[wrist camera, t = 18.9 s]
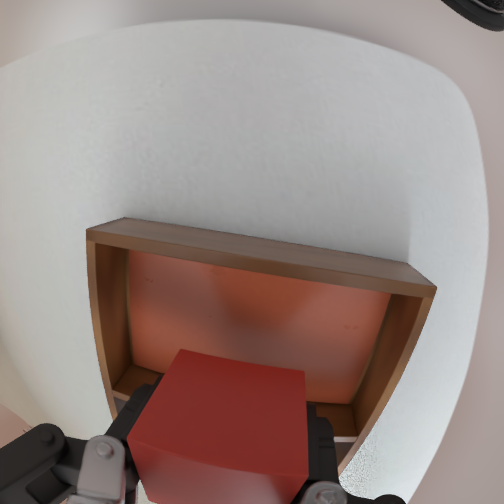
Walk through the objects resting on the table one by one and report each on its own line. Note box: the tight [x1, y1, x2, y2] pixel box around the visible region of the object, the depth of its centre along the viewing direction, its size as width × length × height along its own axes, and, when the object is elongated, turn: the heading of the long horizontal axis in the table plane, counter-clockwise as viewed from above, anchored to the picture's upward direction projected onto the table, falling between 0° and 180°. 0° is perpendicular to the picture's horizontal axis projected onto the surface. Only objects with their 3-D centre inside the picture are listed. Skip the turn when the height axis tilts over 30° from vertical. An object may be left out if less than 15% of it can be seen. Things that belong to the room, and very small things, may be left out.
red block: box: [127, 349, 309, 504], centre depth 8 cm, size 4×4×4 cm
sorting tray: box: [86, 217, 437, 477], centre depth 15 cm, size 20×16×4 cm
